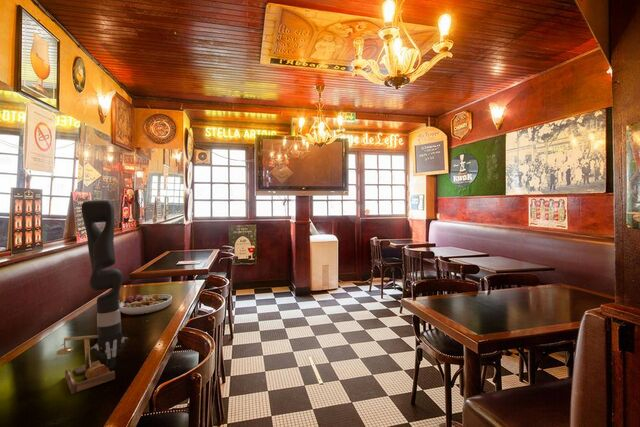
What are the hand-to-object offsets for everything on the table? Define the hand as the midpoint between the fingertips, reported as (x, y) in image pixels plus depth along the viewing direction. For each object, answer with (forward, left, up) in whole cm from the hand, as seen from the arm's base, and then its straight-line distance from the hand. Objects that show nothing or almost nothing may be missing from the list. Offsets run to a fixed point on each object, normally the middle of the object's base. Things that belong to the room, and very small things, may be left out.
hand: (111, 366), depth 123 cm
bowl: (-79, +35, -2) cm, 86 cm away
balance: (-9, -6, -2) cm, 11 cm away
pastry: (0, -4, -2) cm, 5 cm away
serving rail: (0, -7, -2) cm, 7 cm away
